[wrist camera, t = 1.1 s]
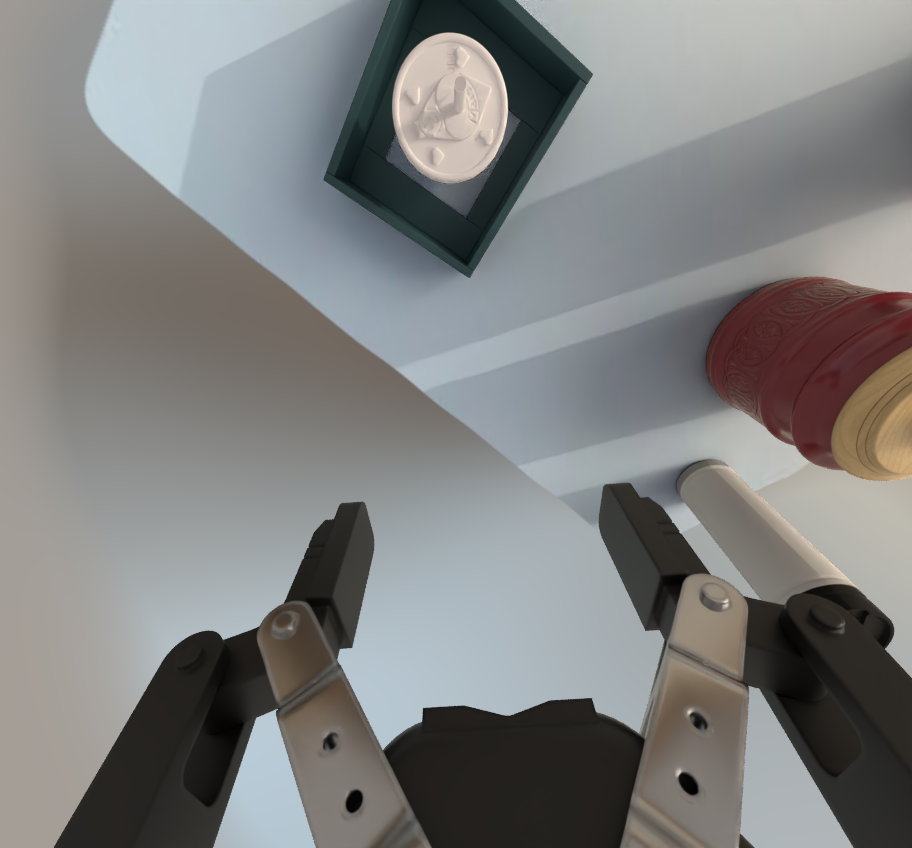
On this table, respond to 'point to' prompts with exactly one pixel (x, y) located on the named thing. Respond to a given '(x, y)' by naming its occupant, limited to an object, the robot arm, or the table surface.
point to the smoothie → (450, 107)
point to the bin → (529, 98)
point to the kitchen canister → (823, 372)
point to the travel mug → (770, 545)
